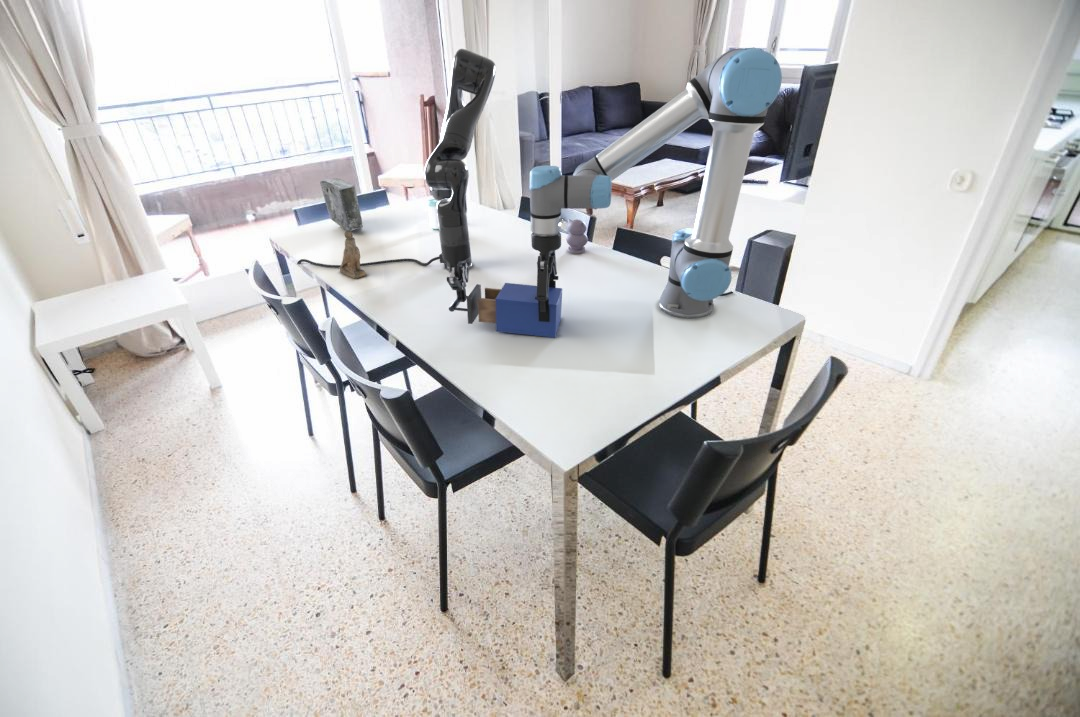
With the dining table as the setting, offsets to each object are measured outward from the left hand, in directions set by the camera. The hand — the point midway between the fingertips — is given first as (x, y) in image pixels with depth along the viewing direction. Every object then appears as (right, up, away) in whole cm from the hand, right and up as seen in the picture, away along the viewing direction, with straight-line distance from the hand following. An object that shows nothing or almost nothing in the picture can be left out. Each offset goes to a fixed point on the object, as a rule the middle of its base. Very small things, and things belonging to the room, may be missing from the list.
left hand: (462, 300), depth 138 cm
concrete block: (-66, +43, +89) cm, 119 cm away
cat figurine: (+36, +25, +52) cm, 68 cm away
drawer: (+7, -5, +1) cm, 9 cm away
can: (-24, +43, +85) cm, 98 cm away
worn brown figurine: (-46, +14, +40) cm, 62 cm away
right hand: (+24, -3, -3) cm, 24 cm away
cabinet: (+19, -7, 0) cm, 20 cm away
